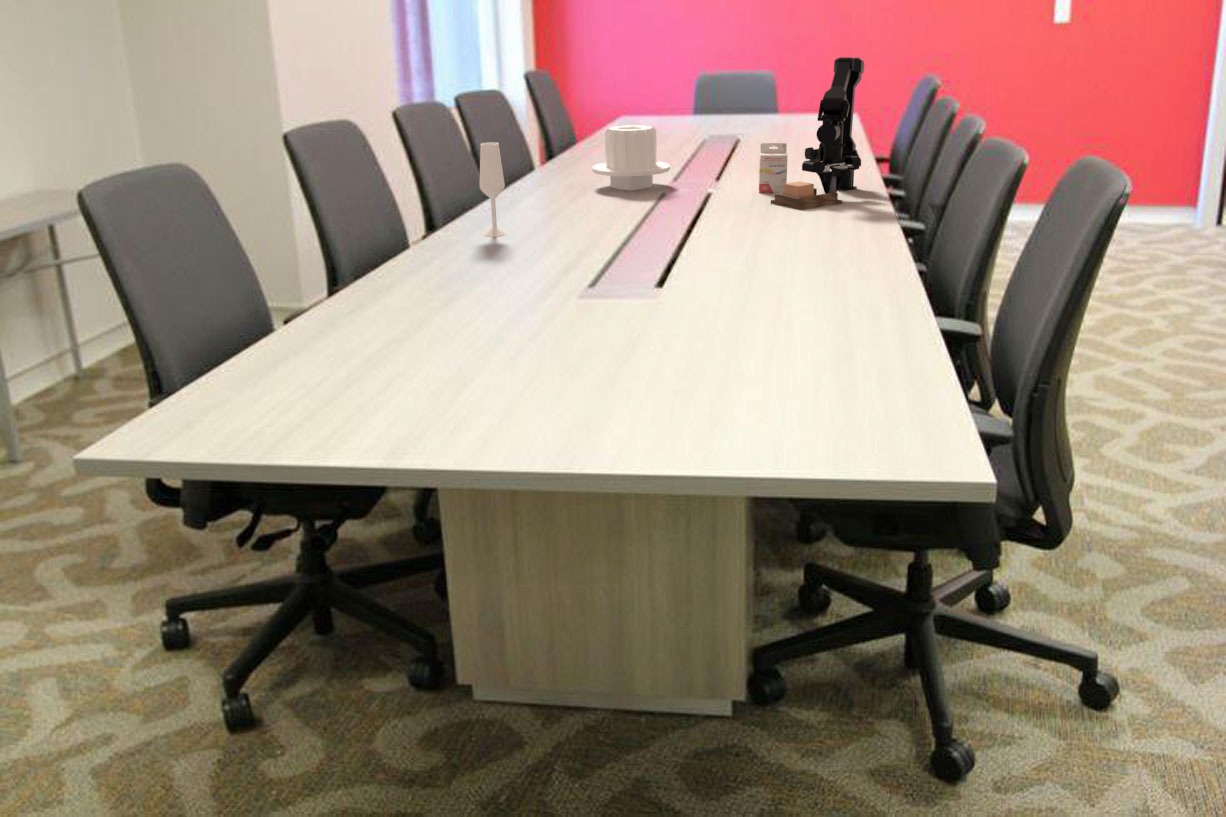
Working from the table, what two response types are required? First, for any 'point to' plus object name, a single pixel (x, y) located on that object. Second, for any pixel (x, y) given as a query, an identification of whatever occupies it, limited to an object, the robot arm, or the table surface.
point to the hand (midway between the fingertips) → (830, 193)
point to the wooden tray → (807, 200)
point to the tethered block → (805, 188)
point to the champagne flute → (491, 180)
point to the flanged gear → (631, 157)
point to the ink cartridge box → (772, 168)
